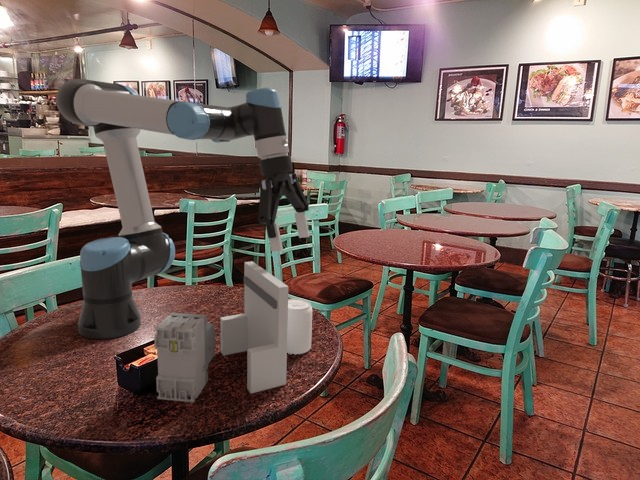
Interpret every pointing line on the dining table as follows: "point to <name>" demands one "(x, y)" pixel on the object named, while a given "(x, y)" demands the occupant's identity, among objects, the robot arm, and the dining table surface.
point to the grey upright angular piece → (260, 329)
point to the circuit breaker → (183, 355)
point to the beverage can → (299, 326)
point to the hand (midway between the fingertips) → (291, 243)
